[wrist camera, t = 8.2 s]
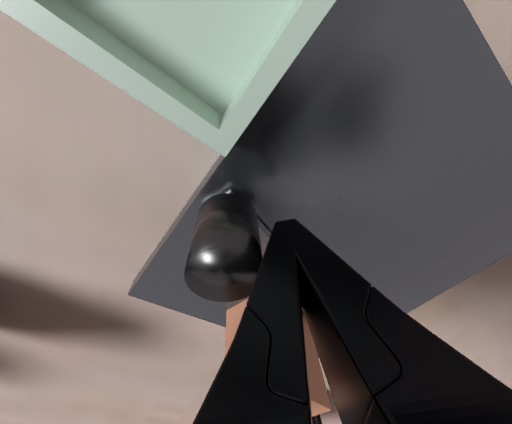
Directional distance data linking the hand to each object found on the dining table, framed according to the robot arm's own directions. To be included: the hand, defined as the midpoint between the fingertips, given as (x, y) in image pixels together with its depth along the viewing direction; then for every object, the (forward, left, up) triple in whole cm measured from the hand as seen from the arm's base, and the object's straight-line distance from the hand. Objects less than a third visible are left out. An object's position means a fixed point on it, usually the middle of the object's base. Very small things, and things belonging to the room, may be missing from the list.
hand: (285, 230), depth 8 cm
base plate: (-5, +1, -4) cm, 6 cm away
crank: (-4, +4, -2) cm, 6 cm away
